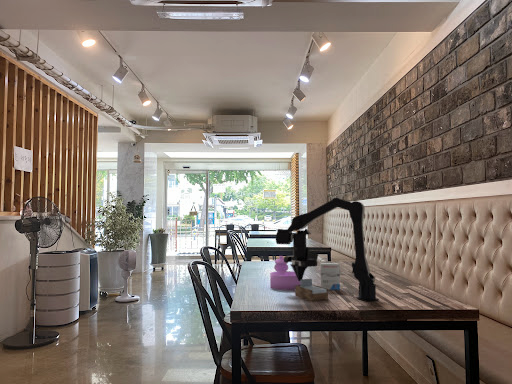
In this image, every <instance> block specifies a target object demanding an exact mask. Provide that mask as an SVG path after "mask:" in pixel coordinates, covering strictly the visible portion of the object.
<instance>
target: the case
mask: <svg viewBox="0 0 512 384" xmlns="http://www.w3.org/2000/svg"><path fill="white" fill-rule="evenodd" d="M312 285H313V286H316V287H320V288H323V287H321V285H320V286H319V285H315V284H313V283H312ZM300 286H301V285H298V286H297V285H295V295H294V296H295V297H297V298H300V299H303V300H306V301H308V302H310V303H311V302H314V303H315V302H321V301H328V300H329V290H328V289H327V288H323V289H327V293H317V294H312V290H309V289H306V288H303V287H300Z"/></svg>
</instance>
